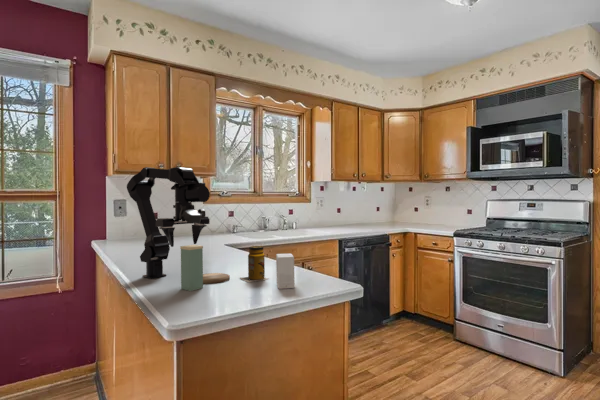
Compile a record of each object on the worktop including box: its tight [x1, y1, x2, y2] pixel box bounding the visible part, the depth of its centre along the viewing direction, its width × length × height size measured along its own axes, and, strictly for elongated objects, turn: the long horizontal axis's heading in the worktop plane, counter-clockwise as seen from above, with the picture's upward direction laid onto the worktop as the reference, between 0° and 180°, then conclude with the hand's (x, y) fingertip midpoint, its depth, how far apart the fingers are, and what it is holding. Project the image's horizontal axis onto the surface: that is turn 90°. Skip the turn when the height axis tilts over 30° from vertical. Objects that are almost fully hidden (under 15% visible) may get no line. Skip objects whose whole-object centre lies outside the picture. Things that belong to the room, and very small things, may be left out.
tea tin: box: [179, 244, 204, 292], centre depth 120 cm, size 5×5×14 cm
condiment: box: [240, 245, 269, 283], centre depth 133 cm, size 7×8×12 cm
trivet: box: [203, 272, 231, 285], centre depth 133 cm, size 13×13×1 cm
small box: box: [275, 253, 296, 290], centre depth 122 cm, size 8×6×10 cm
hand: (183, 245), depth 130 cm, fingers open, 9 cm apart
